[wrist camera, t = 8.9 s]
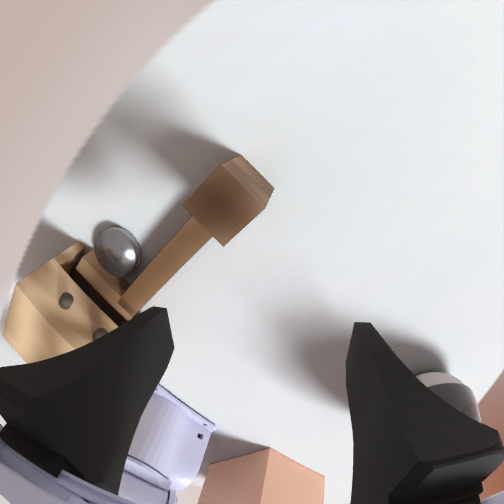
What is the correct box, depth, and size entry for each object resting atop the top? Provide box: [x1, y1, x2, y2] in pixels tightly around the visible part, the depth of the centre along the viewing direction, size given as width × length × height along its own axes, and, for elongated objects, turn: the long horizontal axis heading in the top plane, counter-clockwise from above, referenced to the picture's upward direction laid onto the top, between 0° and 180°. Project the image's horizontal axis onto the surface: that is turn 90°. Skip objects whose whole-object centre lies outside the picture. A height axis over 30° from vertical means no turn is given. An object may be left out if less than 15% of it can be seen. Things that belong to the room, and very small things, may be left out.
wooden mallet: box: [76, 155, 274, 321], centre depth 19 cm, size 7×16×5 cm, turn 135°
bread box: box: [3, 242, 118, 364], centre depth 22 cm, size 10×10×8 cm
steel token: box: [94, 226, 141, 277], centre depth 23 cm, size 4×4×1 cm
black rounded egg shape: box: [416, 372, 481, 423], centre depth 17 cm, size 10×10×15 cm
